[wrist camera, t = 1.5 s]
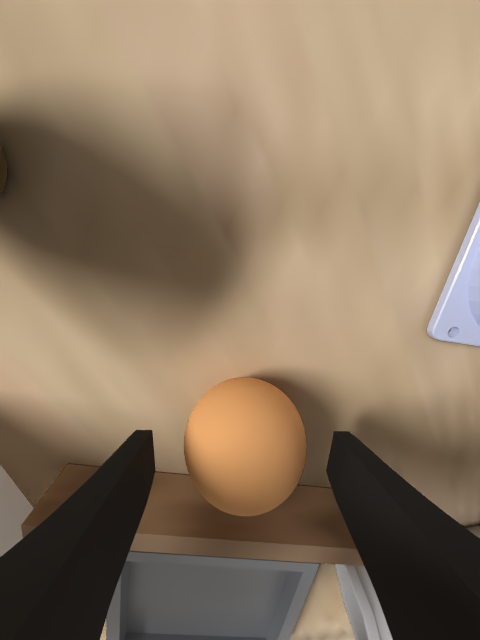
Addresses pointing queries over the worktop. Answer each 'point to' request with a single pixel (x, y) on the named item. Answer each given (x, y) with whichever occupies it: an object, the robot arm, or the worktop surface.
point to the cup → (2, 170)
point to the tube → (366, 601)
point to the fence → (223, 522)
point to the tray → (207, 597)
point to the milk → (11, 512)
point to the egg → (245, 446)
